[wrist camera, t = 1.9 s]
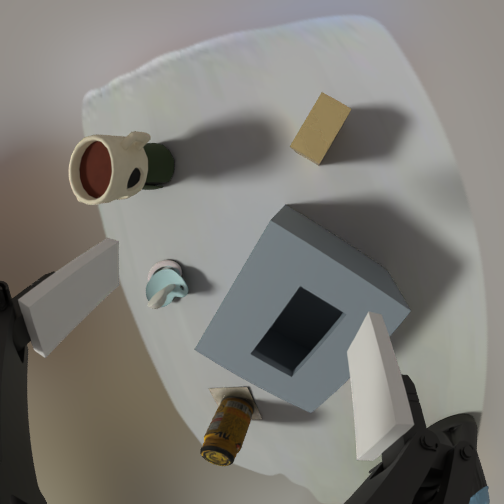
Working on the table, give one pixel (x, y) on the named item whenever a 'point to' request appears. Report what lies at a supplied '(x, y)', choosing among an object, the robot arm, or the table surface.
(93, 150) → the character mug
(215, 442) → the condiment
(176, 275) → the pacifier
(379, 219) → the table surface
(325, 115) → the gold brushed block
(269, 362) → the box
